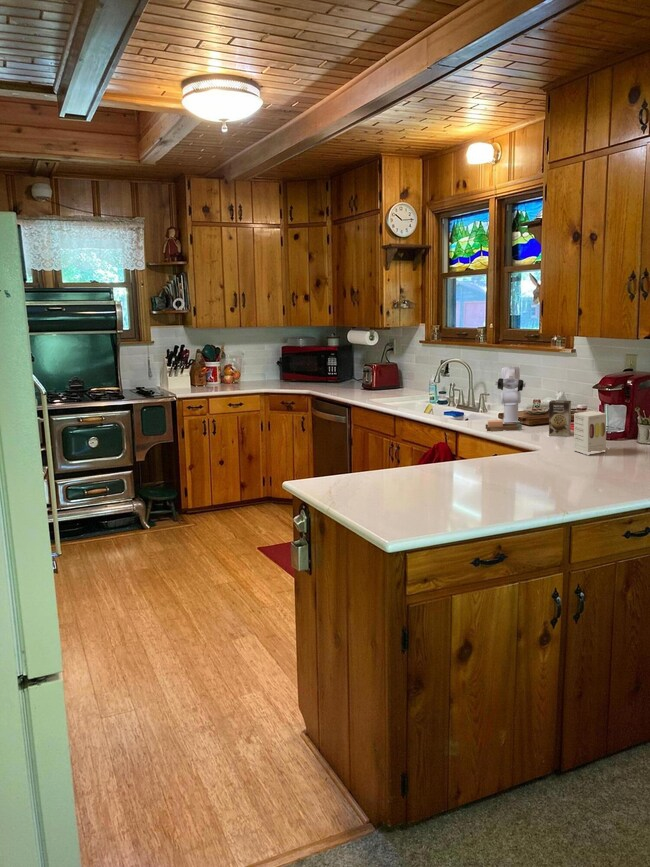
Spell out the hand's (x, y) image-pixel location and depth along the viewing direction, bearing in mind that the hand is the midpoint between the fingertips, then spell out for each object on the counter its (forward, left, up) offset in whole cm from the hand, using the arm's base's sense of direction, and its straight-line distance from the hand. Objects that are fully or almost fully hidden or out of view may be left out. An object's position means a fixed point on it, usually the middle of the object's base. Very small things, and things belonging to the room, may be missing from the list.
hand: (510, 388), depth 343 cm
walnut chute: (-2, -4, -21) cm, 21 cm away
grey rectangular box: (+16, +20, -21) cm, 33 cm away
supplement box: (+50, +26, -21) cm, 60 cm away
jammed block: (-2, -8, -21) cm, 22 cm away
